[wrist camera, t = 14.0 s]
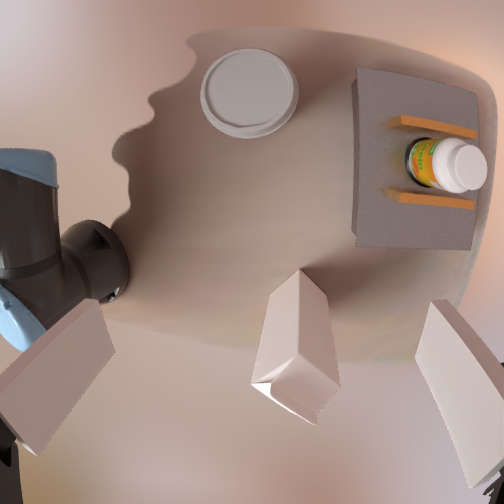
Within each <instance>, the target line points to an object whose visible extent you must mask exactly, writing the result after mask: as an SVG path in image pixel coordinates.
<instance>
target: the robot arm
mask: <svg viewBox="0 0 504 504" xmlns="http://www.w3.org/2000/svg"><path fill="white" fill-rule="evenodd" d="M56 165H57V164H56V159H55V157H54V156H53V154H52V153H50V152H48V151H44V150H36V149H21V148H0V333H1V334H2V335H3V337H4V338H5V339H6V340H7V341H8V342H9V343H10V344H11V345H13V346H14V347H15V348H16V349H18V350H20V351H22V352H23V353H22V354H21V355H20V356H19V357H18V358H17V359H16V360H15V361H14V362H13V363H12V364H11V365H10V366H9V367H8V368H7V369H6V370H5V371H4V372H3V373H2V374H1V375H0V504H23V500H22V491H21V483H20V472H19V457H18V447H17V444H16V443H15V442H14V441H15V440H16V438H17V439H18V440H19V441H20V443H21V444H22V445H23V446H24V447H25V448H26V449H27V450H29V451H30V452H32V453H33V454H35V455H36V456H38V457H39V456H40V454H41V453H42V451H43V450H44V448H45V447H46V445H47V444H48V442H49V441H50V440H51V438H52V437H53V435H54V434H55V432H56V431H57V429H58V428H59V427H60V425H61V424H62V423H63V421H64V420H65V418H66V417H67V415H68V414H69V413H70V411H71V410H72V408H73V407H74V406H75V405H76V403H77V402H78V400H79V399H80V398H81V396H82V395H83V394H84V392H85V391H86V390H87V388H88V387H89V386H90V384H91V383H92V382H93V380H94V379H95V378H96V377H97V375H98V374H99V372H100V371H101V370H102V369H103V367H104V366H105V365H106V364H107V362H108V361H109V360H110V358H111V357H112V356H113V355H114V353H115V350H114V347H113V344H112V341H111V339H110V336H109V333H108V330H107V327H106V324H105V321H104V318H103V314H102V311H101V308H100V305H103V304H107V303H110V302H111V301H113V300H115V299H116V298H117V297H118V296H119V295H120V294H121V293H122V292H123V291H124V290H125V288H126V286H127V283H128V278H129V266H128V260H127V256H126V253H125V250H124V248H123V246H122V244H121V242H120V241H119V239H118V238H117V236H116V235H115V234H114V233H113V232H112V231H111V230H110V229H109V228H108V227H107V226H105V225H104V224H102V223H100V222H98V221H94V220H85V221H81V222H79V223H76V224H74V225H72V226H71V227H70V228H68V229H67V230H66V231H65V233H64V234H63V235H62V236H61V237H60V233H59V219H58V192H57V191H58V190H57V189H58V188H59V186H58V184H57V170H56V167H57V166H56ZM415 360H416V362H417V364H418V366H419V368H420V370H421V372H422V374H423V376H424V378H425V380H426V382H427V384H428V386H429V388H430V391H431V393H432V395H433V397H434V399H435V401H436V404H437V406H438V408H439V410H440V413H441V415H442V417H443V419H444V422H445V424H446V427H447V429H448V431H449V434H450V436H451V439H452V441H453V444H454V446H455V449H456V451H457V454H458V457H459V460H460V462H461V465H462V468H463V471H464V474H465V477H466V480H467V483H468V486H469V489H472V488H475V487H477V486H479V485H481V484H483V483H485V482H487V481H489V480H490V479H491V478H492V477H493V476H494V475H495V474H496V473H497V472H498V471H500V474H501V476H500V477H499V478H498V479H497V480H496V481H495V482H494V483H492V484H491V485H490V486H489V487H488V488H487V489H486V490H485V492H484V494H483V495H486V494H487V493H489V492H490V491H491V490H492V489H493V488H494V490H493V492H492V493H491V494H490V495H489V496H491V499H490V501H489V504H504V363H500V362H499V361H498V360H497V358H496V357H495V356H494V355H493V354H492V352H491V351H490V349H489V348H488V347H487V346H486V344H485V343H484V342H483V341H482V339H481V338H480V337H479V336H478V335H477V333H476V332H475V331H474V330H473V329H472V328H471V326H470V325H469V324H468V323H467V322H466V321H465V320H464V318H463V317H462V316H461V315H460V314H459V313H458V312H457V311H456V309H455V308H454V307H453V306H452V305H451V304H450V303H449V302H448V301H447V300H446V299H445V300H435V301H430V306H429V310H428V314H427V318H426V322H425V325H424V329H423V332H422V336H421V339H420V343H419V346H418V349H417V352H416V355H415Z"/></svg>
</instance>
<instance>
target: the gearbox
mask: <svg viewBox="0 0 504 504" xmlns="http://www.w3.org/2000/svg"><path fill="white" fill-rule="evenodd" d="M352 99H353V122H354V189H353V213H352V231H353V233H354V234H355V235H356V247H387V248H416V249H444V250H469V251H470V250H471V245H472V239H473V233H474V226H475V218H476V209H477V199H478V189H476V190H469V189H468V190H467V191H465V192H463V193H452V192H448V191H445V190H442V189H438V188H434V187H431V186H427V185H424V184H422V183H421V182H419V181H418V180H417V179H416V178H415V177H414V175H413V173H412V171H411V169H410V164H409V157H410V153H411V150H412V148H413V147H414V145H415V144H417V143H418V142H420V141H422V140H428V139H441V138H458V139H461V140H463V141H464V142H466V143H467V144H468V145H473V146H476V147H477V148H479V149H480V147H479V121H478V108H477V98H476V93H473V92H470V91H467V90H463V89H460V88H457V87H454V86H450V85H447V84H443V83H439V82H435V81H431V80H427V79H423V78H419V77H414V76H409V75H404V74H399V73H393V72H387V71H381V70H374V69H366V68H357V67H356V79H355V80H354V82H353V83H352Z"/></svg>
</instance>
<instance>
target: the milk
mask: <svg viewBox="0 0 504 504" xmlns="http://www.w3.org/2000/svg"><path fill="white" fill-rule="evenodd" d="M251 385H252V386H254V387H255V388H257V389H258V390H259V391H261V392H262V393H263V394H265V395H266V396H268V397H269V398H271V399H272V400H273V401H275V402H276V403H278V404H279V405H281V406H282V407H284V408H285V409H287V410H288V411H290V412H291V413H293V414H296V415H298V416H300V417H301V418H303V419H304V420H306V421H307V422H309V423H311V424H312V425H316V424H317V413H318V412H319V411H320V410H321V409H322V408H323V407H324V405H325V404H326V403H327V402H328V401H329V400H330V399H331V398H332V397H333V395H334V394H335V393H336V392H337V391H338V389H339V388H340V379H339V371H338V364H337V357H336V350H335V343H334V337H333V331H332V325H331V319H330V313H329V307H328V302H327V296H326V295H325V294H324V293H323V292H322V291H321V290H320V289H319V288H318V287H317V286H316V285H315V284H314V283H313V282H312V281H311V280H310V279H309V278H308V277H307V276H306V275H305V274H304V273H303V272H302V271H301V270H300V269H299V270H297V271H296V272H295V273H294V274H293V275H292V276H291V277H289V278H288V279H287V280H286V281H285V282H284V283H283V284H281V285H280V286H279V287H278V288H277V289H276V290H275V291H273V292H272V293H271V294H270V298H269V303H268V308H267V312H266V317H265V322H264V327H263V331H262V336H261V340H260V345H259V350H258V354H257V359H256V363H255V368H254V372H253V377H252V381H251Z"/></svg>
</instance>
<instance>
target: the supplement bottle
mask: <svg viewBox="0 0 504 504" xmlns="http://www.w3.org/2000/svg"><path fill="white" fill-rule="evenodd" d="M409 164H410V169H411V171H412V173H413V175H414V177H415V178H416V179H417V180H418V181H419V182H421V183H422V184H424V185H427V186H431V187H434V188H438V189H442V190H445V191H448V192H452V193H463V192H465V191H467V190H468V189H469V190H476V189H478V188H480V187H481V186H482V185H483V184H484V182H485V180H486V177H487V162H486V159H485V156H484V155H483V153H482V152H481V150H480V149H479V148H477V147H476V146H473V145H468V144H467V143H466V142H464V141H463V140H461V139H458V138H441V139H428V140H422V141H420V142H418V143H417V144H415V145H414V147H413V148H412V150H411V153H410V157H409Z"/></svg>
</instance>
